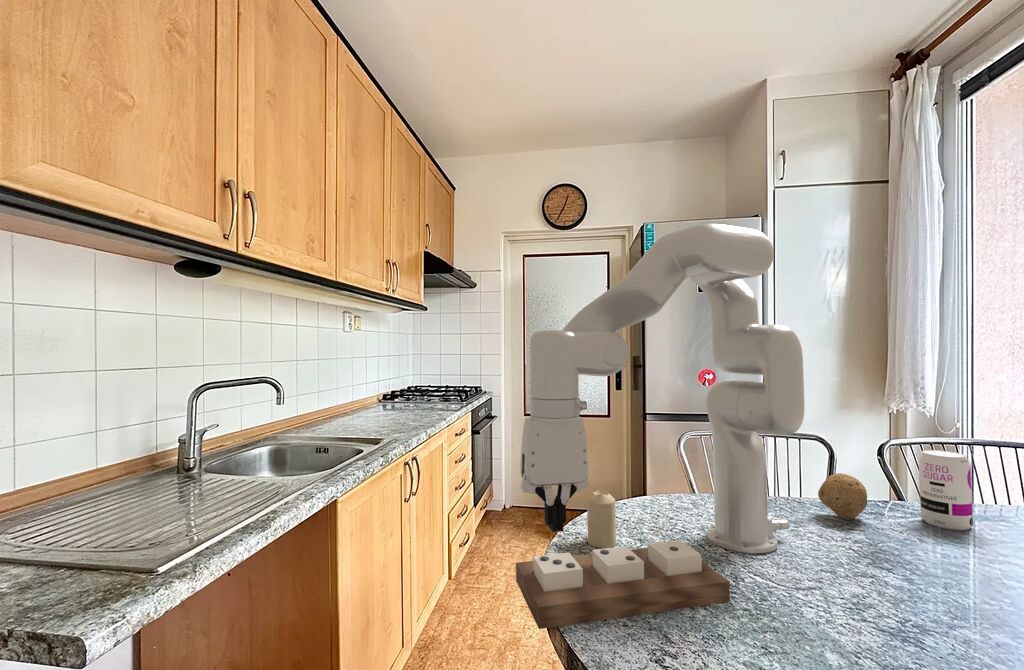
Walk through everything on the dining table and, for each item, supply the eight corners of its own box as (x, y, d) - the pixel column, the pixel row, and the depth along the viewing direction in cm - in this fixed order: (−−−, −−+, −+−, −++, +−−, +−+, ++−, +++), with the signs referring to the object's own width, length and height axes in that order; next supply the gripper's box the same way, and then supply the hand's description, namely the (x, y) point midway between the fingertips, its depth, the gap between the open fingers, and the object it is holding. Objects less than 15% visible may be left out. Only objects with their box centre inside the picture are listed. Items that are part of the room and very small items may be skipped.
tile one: (680, 557, 81) (680, 539, 81) (701, 573, 75) (701, 553, 75) (648, 561, 80) (648, 542, 80) (667, 578, 74) (667, 557, 74)
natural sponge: (812, 517, 106) (810, 472, 106) (828, 509, 111) (827, 466, 112) (860, 529, 99) (858, 481, 99) (875, 520, 104) (873, 474, 104)
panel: (678, 561, 85) (677, 544, 85) (730, 601, 72) (729, 581, 72) (516, 581, 79) (515, 562, 79) (538, 629, 65) (538, 607, 65)
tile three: (569, 571, 77) (569, 551, 77) (582, 589, 71) (582, 568, 71) (533, 575, 75) (533, 555, 75) (544, 594, 69) (544, 572, 70)
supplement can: (967, 521, 103) (963, 451, 103) (978, 534, 96) (974, 459, 96) (918, 515, 107) (915, 448, 107) (925, 526, 100) (922, 455, 100)
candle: (616, 549, 91) (615, 496, 91) (587, 547, 92) (586, 495, 92) (615, 538, 96) (614, 488, 96) (588, 536, 97) (587, 487, 97)
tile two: (626, 564, 79) (626, 545, 79) (644, 581, 73) (643, 560, 73) (592, 568, 78) (592, 548, 78) (607, 586, 72) (607, 564, 72)
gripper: (590, 405, 79) (591, 516, 78) (502, 408, 76) (503, 524, 75) (609, 410, 72) (610, 533, 71) (512, 414, 69) (513, 542, 68)
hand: (555, 528), depth 73 cm, fingers closed
